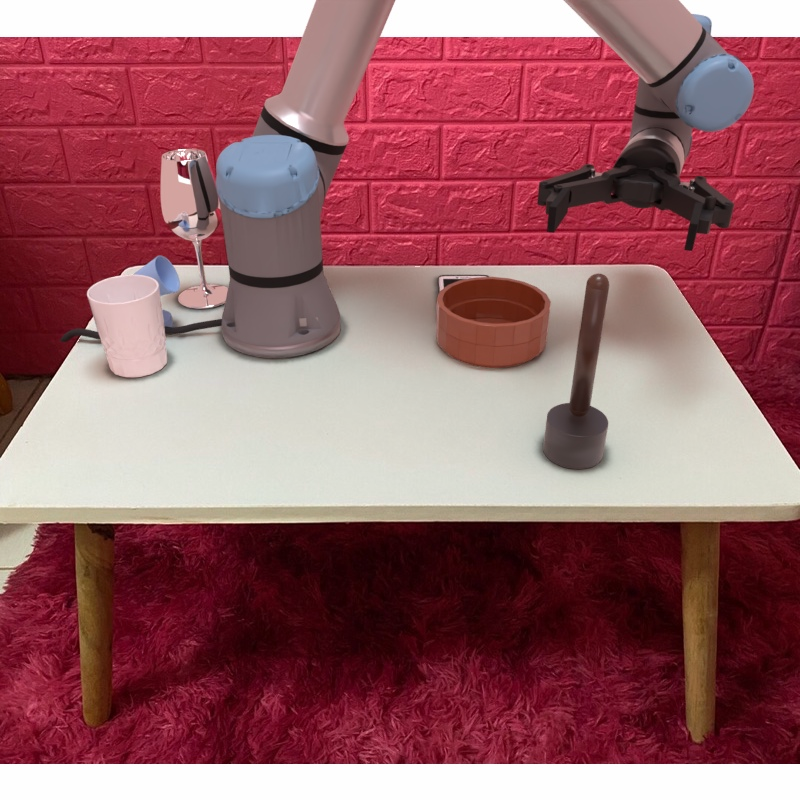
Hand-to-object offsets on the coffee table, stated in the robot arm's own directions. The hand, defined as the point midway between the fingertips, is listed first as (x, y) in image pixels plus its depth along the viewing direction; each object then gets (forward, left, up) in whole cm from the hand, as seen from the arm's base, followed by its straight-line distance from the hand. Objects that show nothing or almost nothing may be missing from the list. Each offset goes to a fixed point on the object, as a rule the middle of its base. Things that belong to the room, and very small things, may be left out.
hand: (619, 228), depth 76 cm
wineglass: (-54, +15, -20) cm, 59 cm away
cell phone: (-18, +22, -20) cm, 35 cm away
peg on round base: (-2, -11, -20) cm, 23 cm away
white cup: (-54, -4, -20) cm, 58 cm away
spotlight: (-56, +5, -20) cm, 59 cm away
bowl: (-13, +10, -20) cm, 26 cm away
